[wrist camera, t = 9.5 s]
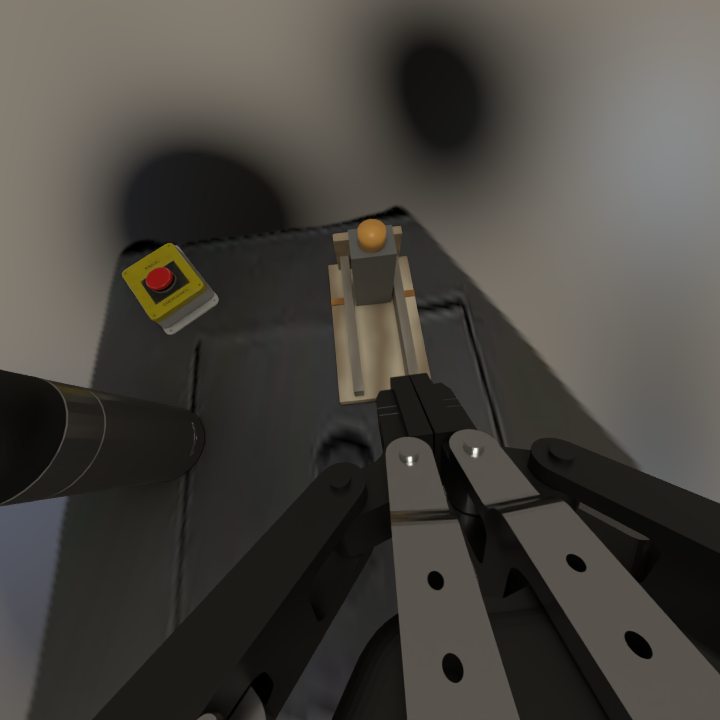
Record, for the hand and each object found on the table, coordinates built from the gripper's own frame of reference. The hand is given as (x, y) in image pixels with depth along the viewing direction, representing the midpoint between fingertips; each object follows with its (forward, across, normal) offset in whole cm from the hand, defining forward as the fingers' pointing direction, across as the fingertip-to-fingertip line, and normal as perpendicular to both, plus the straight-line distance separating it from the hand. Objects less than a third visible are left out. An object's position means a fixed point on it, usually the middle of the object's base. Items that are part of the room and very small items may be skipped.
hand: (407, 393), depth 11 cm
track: (+28, -1, +8) cm, 29 cm away
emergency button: (+37, +30, 0) cm, 48 cm away
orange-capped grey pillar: (+30, -1, +2) cm, 30 cm away
